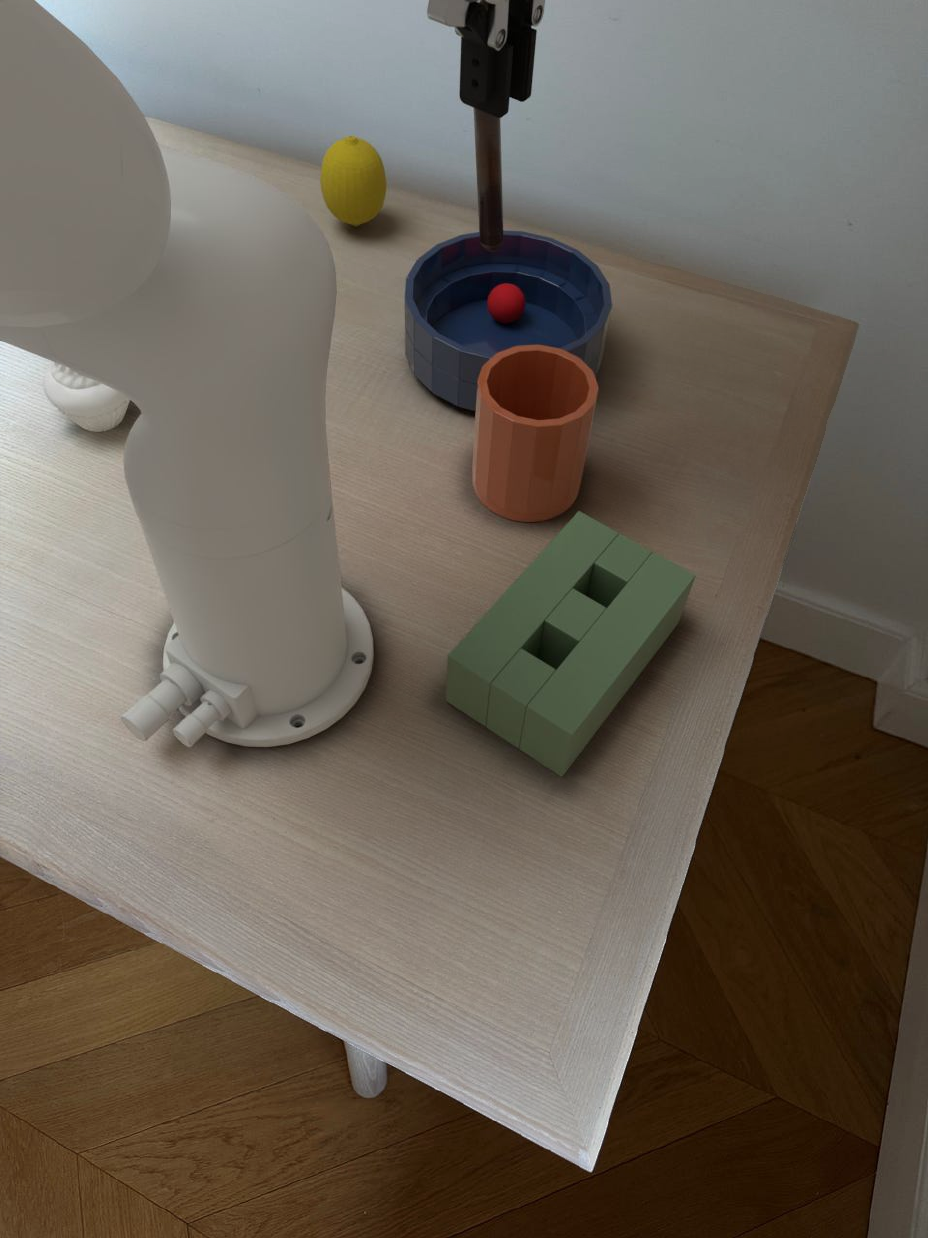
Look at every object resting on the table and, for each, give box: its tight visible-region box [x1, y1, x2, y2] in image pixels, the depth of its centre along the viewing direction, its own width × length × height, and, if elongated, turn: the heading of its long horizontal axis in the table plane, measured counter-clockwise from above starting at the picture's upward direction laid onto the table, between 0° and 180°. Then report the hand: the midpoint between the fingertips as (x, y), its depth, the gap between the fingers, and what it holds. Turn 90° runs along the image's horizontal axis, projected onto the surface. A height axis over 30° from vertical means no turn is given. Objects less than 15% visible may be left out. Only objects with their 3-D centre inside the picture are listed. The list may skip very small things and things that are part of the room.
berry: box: [487, 283, 525, 323], centre depth 79 cm, size 3×3×3 cm
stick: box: [473, 0, 504, 252], centre depth 62 cm, size 2×2×16 cm
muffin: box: [42, 361, 131, 433], centre depth 71 cm, size 6×6×7 cm
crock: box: [471, 345, 599, 523], centre depth 68 cm, size 8×8×9 cm
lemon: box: [319, 135, 387, 227], centre depth 85 cm, size 6×6×8 cm
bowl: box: [404, 229, 613, 412], centre depth 77 cm, size 15×15×6 cm
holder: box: [445, 510, 696, 778], centre depth 61 cm, size 8×14×5 cm, turn 144°
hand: (495, 98), depth 60 cm, fingers closed on stick, 1 cm apart
